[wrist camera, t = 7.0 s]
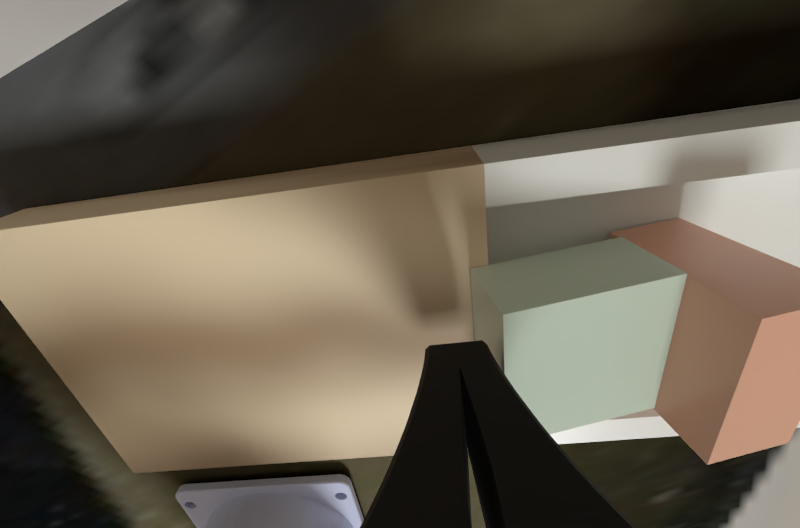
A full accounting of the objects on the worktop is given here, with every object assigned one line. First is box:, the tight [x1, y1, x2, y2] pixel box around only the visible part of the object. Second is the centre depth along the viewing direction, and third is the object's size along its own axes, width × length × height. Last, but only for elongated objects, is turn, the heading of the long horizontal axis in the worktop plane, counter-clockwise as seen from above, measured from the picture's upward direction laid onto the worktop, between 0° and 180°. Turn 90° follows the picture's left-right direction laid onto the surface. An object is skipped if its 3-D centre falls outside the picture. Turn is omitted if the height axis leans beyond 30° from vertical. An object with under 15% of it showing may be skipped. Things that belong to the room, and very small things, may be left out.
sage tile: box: [470, 237, 687, 434], centre depth 9 cm, size 4×4×2 cm
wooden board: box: [0, 146, 488, 473], centre depth 12 cm, size 10×13×2 cm
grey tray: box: [471, 99, 800, 444], centre depth 11 cm, size 10×12×2 cm
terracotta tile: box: [609, 218, 800, 465], centre depth 9 cm, size 4×4×2 cm
